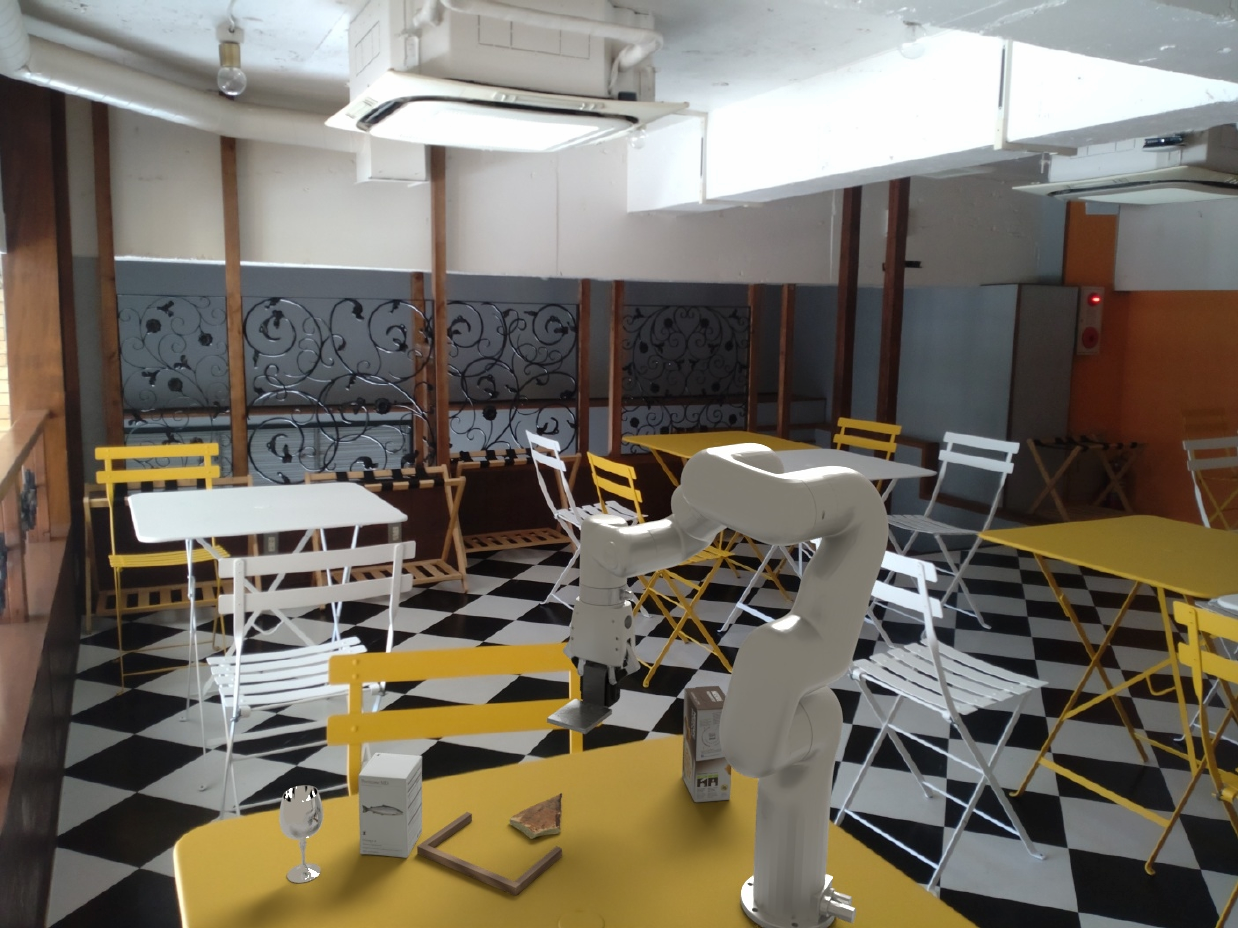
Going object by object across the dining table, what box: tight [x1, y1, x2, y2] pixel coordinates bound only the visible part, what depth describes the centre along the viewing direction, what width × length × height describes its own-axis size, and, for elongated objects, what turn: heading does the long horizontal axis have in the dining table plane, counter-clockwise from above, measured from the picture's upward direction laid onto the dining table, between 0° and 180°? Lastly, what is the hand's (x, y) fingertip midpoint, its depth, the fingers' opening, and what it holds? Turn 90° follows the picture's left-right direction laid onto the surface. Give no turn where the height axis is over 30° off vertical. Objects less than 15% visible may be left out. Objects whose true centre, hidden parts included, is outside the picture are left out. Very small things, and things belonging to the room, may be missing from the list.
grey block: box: [546, 661, 613, 735], centre depth 146 cm, size 12×7×7 cm, turn 150°
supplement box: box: [358, 752, 423, 859], centre depth 136 cm, size 7×7×13 cm
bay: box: [416, 811, 563, 897], centre depth 134 cm, size 18×11×1 cm, turn 59°
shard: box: [508, 792, 563, 840], centre depth 143 cm, size 11×8×2 cm
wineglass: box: [278, 784, 324, 884], centre depth 128 cm, size 6×6×12 cm
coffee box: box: [681, 685, 732, 803], centre depth 153 cm, size 9×6×16 cm
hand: (599, 699), depth 150 cm, fingers closed on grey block, 4 cm apart
